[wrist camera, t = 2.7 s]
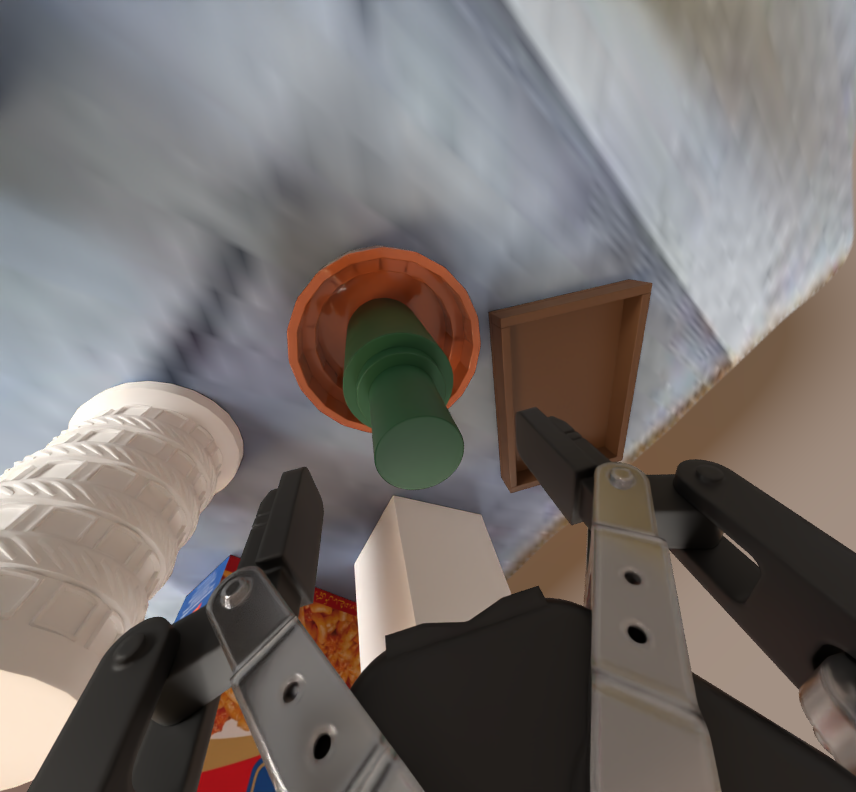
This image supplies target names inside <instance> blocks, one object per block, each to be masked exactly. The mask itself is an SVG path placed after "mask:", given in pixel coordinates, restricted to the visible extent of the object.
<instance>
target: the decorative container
mask: <svg viewBox="0 0 856 792" xmlns="http://www.w3.org/2000/svg"><path fill="white" fill-rule="evenodd" d="M242 457H243V440H242V437H241V434H240V431H239V429H238V427H237V425H236V424H235V422H234V421H233V420H232V418H231V417H230V416H229V414H228V413H227V412H226V411H224V410H223V409H222V408H221V407H220V406H218V405H217V404H216V403H215V402H214V401H212V400H210V399H209V398H207V397H205V396H203V395H201V394H199V393H197V392H196V391H194V390H190V389H187V388H184V387H181V386H178V385H174V384H170V383H161V382H153V381H143V382H132V383H124V384H121V385H118V386H115V387H112V388H109V389H106V390H105V391H103V392H101V393H100V394H98V395H97V396H95V397H93V398H92V399H91V400H89V401H88V402H86V403H85V404H84V405H82V406H81V407H79V408H78V410H77V411H76V413H75V414H74V416H73V417H72V419H71V420H70V422H69V427H68V430H63V431H62V432H61V436H57V437H54V438H53V441H52V442H51V443H49V444H48V445H47V446H46V448H45V449H43V450H40V451H37V452H35V453H34V454H32V455H31V456H30V455H28V456H26V457H25V458H24V460H23V461H17V462H15V463H14V465H15V467H13V468H10V469H6V470H5V474H3V475H2V476H1V477H0V791H2V790H6V789H10V788H13V787H17V786H19V785H22V784H24V783H26V782H29V781H32V780H34V778H35V776H36V775H37V773H38V771H39V769H40V768H41V766H42V764H43V762H44V760H45V759H46V757H47V755H48V753H49V751H50V750H51V748H52V746H53V744H54V743H55V741H56V739H57V737H58V735H59V734H60V732H61V730H62V728H63V726H64V725H65V723H66V721H67V719H68V718H69V716H70V714H71V712H72V710H73V709H74V707H75V705H76V703H77V702H78V700H79V698H80V696H81V694H82V693H83V691H84V689H85V687H86V685H87V684H88V682H89V680H90V678H91V677H92V675H93V673H94V671H95V669H96V668H97V666H98V664H99V662H100V661H101V659H102V657H103V656H104V655H105V653H106V652H107V651H108V649H109V648H110V647H111V646H112V645H113V644H114V643H115V642H116V641H117V640H118V639H119V638H120V637H121V636H122V635H123V634H124V633H125V632H127V631H128V630H129V629H131V628H132V627H134V626H135V625H137V624H138V623H140V622H142V621H144V618H145V614H146V611H147V608H148V601H149V600H150V599H151V598H152V597H153V596H154V595H155V594H156V593H157V592H158V591H159V590H160V589H161V588H162V586H163V585H164V584H165V583H166V581H167V580H168V579H169V577H170V576H171V574H172V571H173V569H174V565H175V561H176V557H177V554H178V551H179V550H180V549H181V547H183V546H184V545H185V544H186V542H187V541H188V540H189V539H190V537H191V536H192V534H193V533H194V532H195V529H196V526H197V524H198V519H199V515H200V513H201V512H202V511H203V510H204V509H205V508H206V507H207V506H208V504H209V503H210V501H211V500H212V498H213V496H214V494H216V493H218V492H219V491H221V490H222V489H224V488H225V487H226V486H227V484H228V483H229V482H230V481H231V480H232V479H233V477H234V476H235V474H236V472H237V470H238V468H239V465H240V462H241V460H242Z"/></svg>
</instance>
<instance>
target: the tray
mask: <svg viewBox="0 0 856 792" xmlns="http://www.w3.org/2000/svg"><path fill="white" fill-rule="evenodd" d="M651 289H652V283H648V282H642V281H636V280H625V281H620V282H616V283H612V284H607V285H603V286H599V287H594V288H590V289H586V290H581V291H577V292H573V293H568V294H564V295H560V296H556V297H551V298H547V299H543V300H538V301H534V302H530V303H525V304H521V305H517V306H512V307H508V308H504V309H500V310H495V311H491V312H489V324H490V337H491V350H492V363H493V376H494V389H495V402H496V415H497V428H498V441H499V454H500V467H501V478H502V480H503V481H504V483H505V485H506V486H507V488H508V490H509V491H510V493H513V492H517V491H520V490H523V489H527V488H530V487H534V486H537V485H540V483H539V482H538V480H537V479H536V478H535V476H534V475H533V474H532V472H531V471H530V470H529V468H528V467H527V466H526V464H525V463H524V462H523V460H522V459H521V457H520V455H519V453H518V450H517V445H516V425H515V414H516V412H518V411H522V410H526V409H529V408H533V407H537V408H538V409H539V410H540V411H541V412H542V413H544V414H545V415H546V416H547V417H550V416H554V417H556V418H558V419H561V420H563V421H565V422H567V423H568V424H569V425H570V426H571V427H572V428H573V429H575V431H577V432H578V433H579V434H580V435H581V436H582V437H583V438H585V439H586V440H587V441H588V442H589V443H591V444H592V445H593V446H594V447H595V448H596V449H598V450H599V451H600V452H601V453H602V454H603V455H604V456H606V457H607V458H608V459H609V460H610V461H611V462H618V461H621V460H622V458H623V452H624V447H625V441H626V435H627V429H628V423H629V417H630V412H631V406H632V400H633V394H634V388H635V382H636V377H637V371H638V365H639V359H640V353H641V348H642V342H643V336H644V330H645V324H646V318H647V313H648V307H649V301H650V295H651V293H650V292H651Z"/></svg>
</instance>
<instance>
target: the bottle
mask: <svg viewBox="0 0 856 792" xmlns="http://www.w3.org/2000/svg"><path fill="white" fill-rule="evenodd" d="M452 389H453V371H452V367H451V364H450V362H449V360H448V358H447V356H446V355H445V353H444V352H443V351H442V349H441V348H440V347H439V345H438V344H437V343H436V341H435V340H434V339H433V337H432V336H431V335H430V334H429V332H428V331H427V330H426V328H425V327H424V326H423V324H422V323H421V322H420V320H419V319H418V318H417V317H416V315H415V314H414V313H413V311H412V310H411V309H410V308H409V307H408V306H406V305H405V304H403V303H402V302H400V301H397V300H394V299H390V298H378V299H373V300H370V301H368V302H366V303H364V304H362V305H361V306H360V307H359V308H358V309H357V310H356V311H355V312H354V313H353V315H352V316H351V318H350V320H349V323H348V327H347V337H346V349H345V361H344V373H343V394H344V398H345V401H346V403H347V406H348V408H349V409H350V411H351V412H352V414H353V415H354V416H355V417H356V418H357V419H358V420H359V421H360V422H362V423H363V424H364V425H366V426H368V427H370V428H372V438H373V449H374V460H375V466H376V469H377V471H378V473H379V474H380V476H381V477H382V478H383V479H384V480H385V481H386V482H388V483H389V484H391V485H393V486H395V487H398V488H401V489H406V490H419V489H425V488H429V487H432V486H435V485H437V484H439V483H441V482H442V481H444V480H445V479H447V478H448V477H449V476H450V475H452V473H453V472H454V471H455V470H456V469H457V467H458V466H459V464H460V462H461V460H462V457H463V453H464V442H463V438H462V435H461V433H460V431H459V429H458V427H457V426H456V424H455V422H454V420H453V418H452V416H451V414H450V413H449V411H448V409H447V407H446V405H447V403H448V401H449V399H450V396H451V393H452Z"/></svg>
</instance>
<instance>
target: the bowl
mask: <svg viewBox="0 0 856 792" xmlns="http://www.w3.org/2000/svg"><path fill="white" fill-rule="evenodd" d="M378 298H390V299H394V300H397V301H400V302H402V303H403V304H405V305H406V306H408V307H409V308H410V309H411V310H412V311H413V313H414V314H415V315H416V317H417V318H418V319H419V320H420V322H421V323H422V324H423V326H424V327H425V328H426V330H427V331H428V332H429V334H430V335H431V336H432V337H433V339H434V340H435V341H436V343H437V344H438V345H439V347H440V348H441V349H442V351H443V352H444V353H445V355H446V356H447V358H448V360H449V362H450V364H451V367H452V371H453V389H452V393H451V396H450V399H449V401H448V403H447V405H446V407H447V409H449V408H450V407H451V406H452V405H453V404H454V403H455V402H456V401H457V400H458V399H459V398H460V397H461V396H462V394H463V393H464V391H465V389H466V387H467V386H468V384H469V382H470V380H471V378H472V376H473V375H474V373H475V369H476V365H477V360H478V356H479V351H480V345H481V343H480V332H479V321H478V316H477V314H476V311H475V309H474V307H473V305H472V302H471V300H470V298H469V295H468V293H467V291H466V290H465V288H464V287H463V286H462V285H461V284H460V283H459V282H458V281H457V280H456V279H455V278H454V277H453V275H452V274H451V273H450V272H449V271H448V270H447V269H446V268H445V267H443V266H442V265H440V264H438V263H436V262H434V261H432V260H430V259H428V258H426V257H425V256H423V255H421V254H419V253H417V252H414V251H410V250H406V249H401V248H394V247H387V246H380V245H375V246H370V247H365V248H360V249H355V250H350V251H347V252H346V253H344V254H343V255H341V256H339V257H338V258H336V259H334V260H333V261H331V262H330V263H328V264H326V265H325V266H324V267H322V268H321V269H320V270H319V271H318V272H317V273H316V275H315V276H314V277H313V279H312V280H311V281H310V282H309V284H308V285H307V286H306V288H305V289H304V290H303V291H302V293H301V294H300V295H299V297H298V298H297V300H296V303H295V306H294V309H293V312H292V316H291V319H290V322H289V325H288V329H287V341H288V358H289V363H290V366H291V368H292V370H293V373H294V375H295V377H296V380H297V382H298V385H299V387H300V389H301V390H302V391H303V393H304V394H305V395H306V396H307V397H308V398H309V399H310V401H311V402H312V403H313V404H314V405H315V406H316V407H317V409H318V410H320V412H322V413H324V414H325V415H327V416H329V417H330V418H332V419H333V420H335V421H337V422H338V423H340V424H342V425H344V426H347V427H351V428H354V429H358V430H361V431H365V432H370V433H372V428H370V427H368V426H366V425H364V424H363V423H362V422H360V421H359V420H358V419H357V418H356V417H355V416H354V415H353V414H352V412H351V411H350V409H349V408H348V406H347V403H346V401H345V398H344V394H343V373H344V361H345V349H346V337H347V327H348V323H349V320H350V318H351V316H352V315H353V313H354V312H355V311H356V310H357V309H358V308H359V307H360V306H361V305H362V304H364V303H366V302H368V301H370V300H373V299H378Z"/></svg>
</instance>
